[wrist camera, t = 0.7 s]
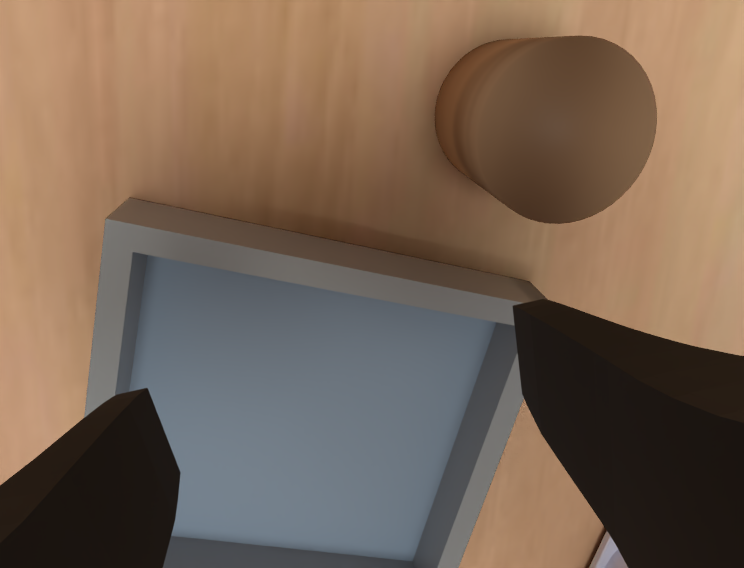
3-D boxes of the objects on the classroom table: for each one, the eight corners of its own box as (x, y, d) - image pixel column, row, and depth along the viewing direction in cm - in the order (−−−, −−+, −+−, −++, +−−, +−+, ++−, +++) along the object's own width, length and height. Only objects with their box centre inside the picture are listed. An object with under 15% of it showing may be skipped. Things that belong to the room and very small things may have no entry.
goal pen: (529, 281, 21) (557, 310, 19) (424, 571, 26) (436, 623, 23) (129, 197, 19) (105, 218, 16) (89, 537, 23) (65, 592, 21)
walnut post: (589, 60, 19) (686, 64, 14) (542, 195, 20) (615, 239, 16) (458, 22, 18) (515, 11, 13) (418, 166, 19) (456, 202, 15)
